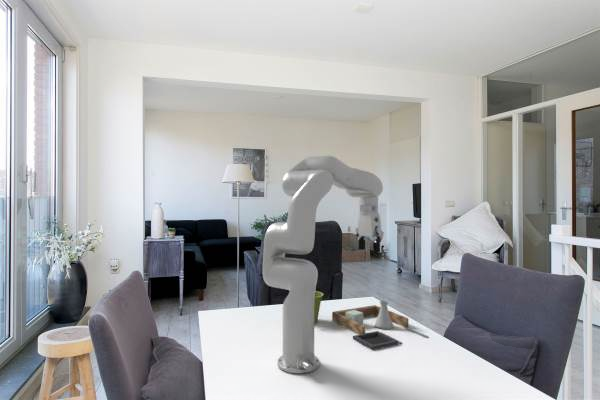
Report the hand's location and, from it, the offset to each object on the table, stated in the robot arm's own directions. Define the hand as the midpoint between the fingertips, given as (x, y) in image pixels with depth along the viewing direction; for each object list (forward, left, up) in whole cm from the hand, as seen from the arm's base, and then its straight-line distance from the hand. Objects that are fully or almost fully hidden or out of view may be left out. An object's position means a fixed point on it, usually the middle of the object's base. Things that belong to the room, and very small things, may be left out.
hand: (368, 250), depth 154 cm
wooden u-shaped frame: (-4, +3, -28) cm, 29 cm away
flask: (-9, 0, -29) cm, 30 cm away
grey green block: (-2, +9, -29) cm, 30 cm away
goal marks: (-20, 0, -28) cm, 35 cm away
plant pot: (+10, +23, -29) cm, 38 cm away
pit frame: (-20, +13, -28) cm, 37 cm away
